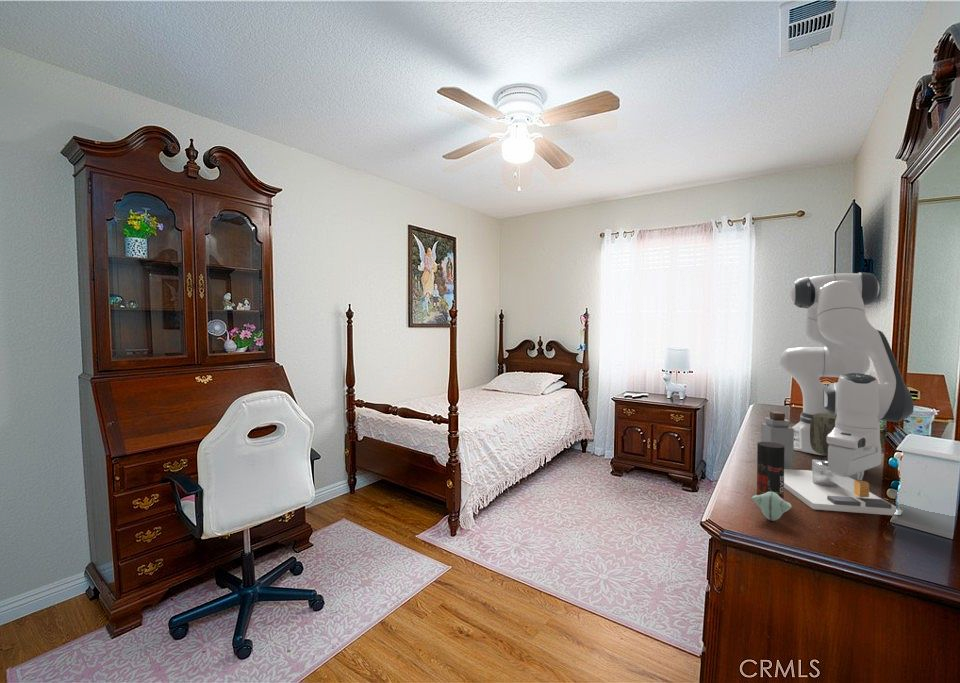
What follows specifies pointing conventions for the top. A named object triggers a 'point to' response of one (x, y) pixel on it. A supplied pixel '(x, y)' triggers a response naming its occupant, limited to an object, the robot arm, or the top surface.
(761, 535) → the top surface
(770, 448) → the deodorant
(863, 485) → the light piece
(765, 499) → the mint green pointed piece
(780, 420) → the perfume bottle
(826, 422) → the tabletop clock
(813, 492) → the stand
